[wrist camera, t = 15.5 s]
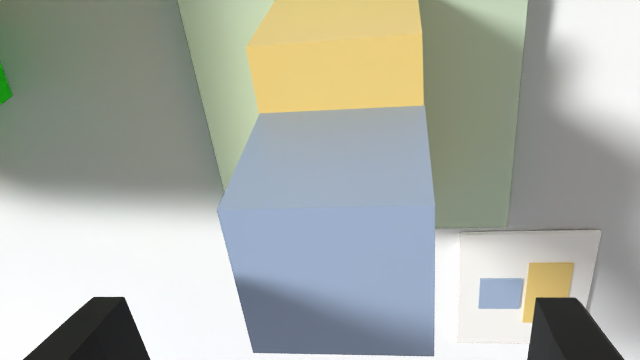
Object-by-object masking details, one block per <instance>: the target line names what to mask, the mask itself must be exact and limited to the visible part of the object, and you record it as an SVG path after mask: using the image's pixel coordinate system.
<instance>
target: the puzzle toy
mask: <svg viewBox="0 0 640 360" xmlns="http://www.w3.org/2000/svg"><path fill="white" fill-rule="evenodd" d="M10 97H12V94H11V91H10V88H9V85H8V82H7V79H6V77H5V74H4V71H3V68H2V65H1V63H0V105H1V104H2V103H4V102H5V101H6V100H8V99H9V98H10Z"/></svg>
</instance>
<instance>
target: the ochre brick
mask: <svg viewBox="0 0 640 360" xmlns="http://www.w3.org/2000/svg"><path fill="white" fill-rule="evenodd" d="M246 52H247V57H248V62H249V67H250V72H251V77H252V82H253V87H254V92H255V97H256V102H257V107H258V112H259V114H260V113H278V112H299V111H320V110H341V109H362V108H383V107H404V106H424V90H423V44H422V27H421V19H420V11H419V3H418V0H275V1H274V3H273V4H272V6H271V7H270V9H269V11H268V12H267V14H266V15H265V17H264V19H263V20H262V22H261V23H260V25H259V27H258V28H257V30H256V31H255V33H254V35H253V36H252V38H251V39H250V41H249V43H248V44H247V46H246Z"/></svg>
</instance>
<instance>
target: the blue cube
mask: <svg viewBox="0 0 640 360" xmlns="http://www.w3.org/2000/svg"><path fill="white" fill-rule="evenodd" d="M217 212H218V216H219V220H220V224H221V228H222V232H223V236H224V240H225V244H226V248H227V252H228V256H229V259H230V263H231V267H232V271H233V275H234V279H235V283H236V287H237V291H238V295H239V299H240V303H241V306H242V310H243V314H244V318H245V322H246V326H247V330H248V334H249V338H250V342H251V346H252V350H253V353H290V354H342V355H395V356H434V288H435V200H434V190H433V181H432V171H431V161H430V151H429V142H428V132H427V122H426V112H425V106H404V107H383V108H362V109H341V110H320V111H299V112H278V113H260V114H259V116H258V118H257V120H256V123H255V125H254V127H253V129H252V132H251V134H250V136H249V138H248V141H247V143H246V145H245V147H244V150H243V152H242V154H241V157H240V159H239V161H238V163H237V166H236V168H235V170H234V172H233V175H232V177H231V179H230V181H229V184H228V186H227V188H226V190H225V193H224V195H223V197H222V199H221V202H220V204H219V206H218V208H217Z"/></svg>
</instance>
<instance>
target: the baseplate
mask: <svg viewBox="0 0 640 360" xmlns="http://www.w3.org/2000/svg"><path fill="white" fill-rule="evenodd" d="M274 1H275V0H177V2H178V6H179V10H180V14H181V18H182V22H183V26H184V30H185V34H186V38H187V42H188V47H189V51H190V55H191V59H192V63H193V67H194V71H195V75H196V79H197V83H198V87H199V91H200V95H201V100H202V104H203V108H204V112H205V116H206V120H207V124H208V128H209V132H210V136H211V140H212V144H213V148H214V152H215V157H216V161H217V165H218V169H219V173H220V177H221V181H222V185H223V189H224V193H225V190H226V188H227V186H228V184H229V181H230V179H231V177H232V175H233V172H234V170H235V168H236V166H237V163H238V161H239V159H240V157H241V154H242V152H243V150H244V147H245V145H246V143H247V141H248V138H249V136H250V134H251V132H252V129H253V127H254V125H255V123H256V120H257V118H258V116H259V112H258V107H257V102H256V97H255V92H254V87H253V82H252V77H251V72H250V67H249V62H248V57H247V52H246V46H247V44H248V43H249V41H250V39H251V38H252V36H253V35H254V33H255V31H256V30H257V28H258V27H259V25H260V23H261V22H262V20H263V19H264V17H265V15H266V14H267V12H268V11H269V9H270V7H271V6H272V4H273V3H274ZM418 3H419V11H420V19H421V27H422V44H423V90H424V106H425V112H426V122H427V132H428V142H429V151H430V161H431V171H432V181H433V190H434V200H435V228H472V227H508V216H509V205H510V194H511V183H512V172H513V161H514V150H515V139H516V128H517V117H518V106H519V95H520V84H521V73H522V62H523V51H524V40H525V29H526V18H527V7H528V0H418Z"/></svg>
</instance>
